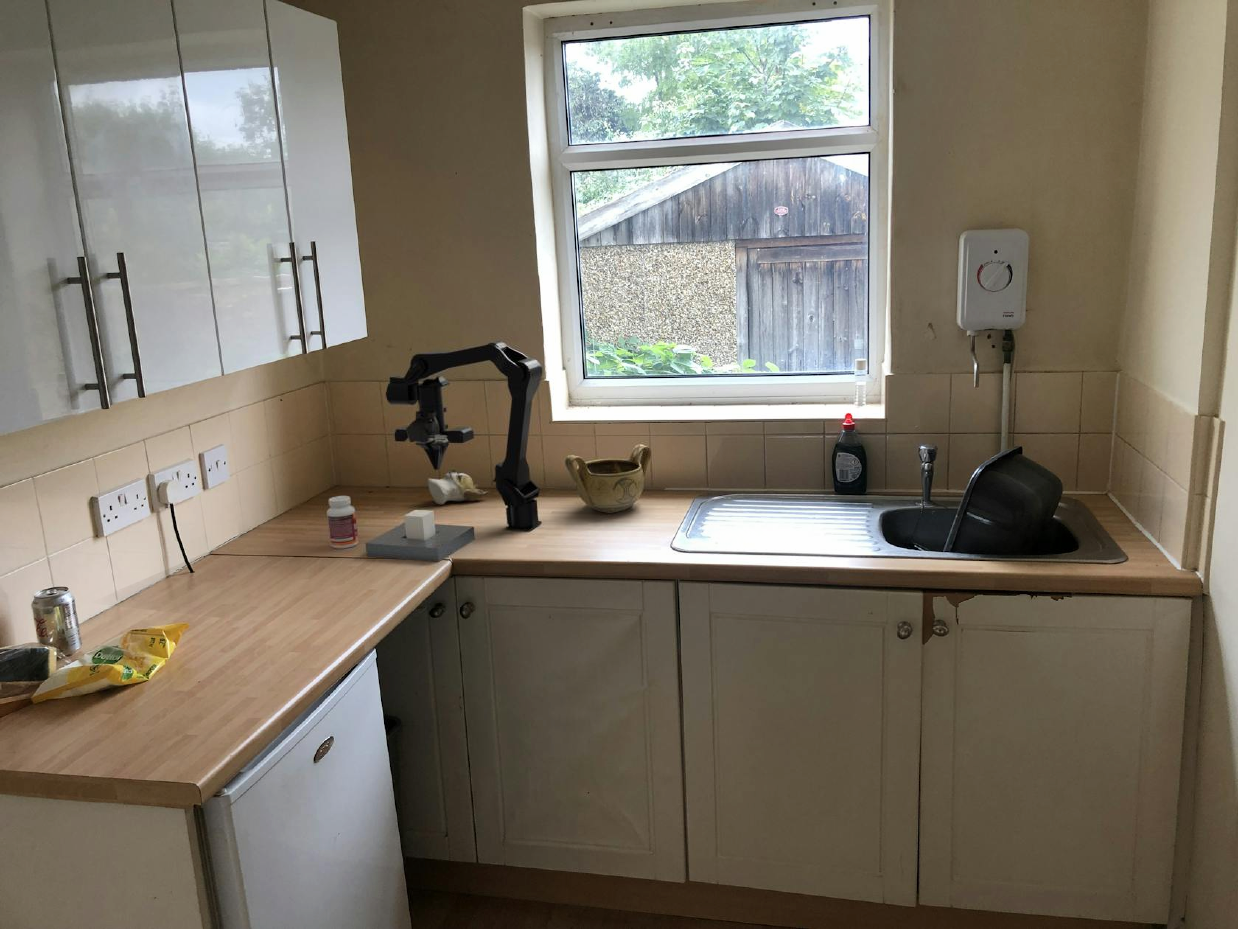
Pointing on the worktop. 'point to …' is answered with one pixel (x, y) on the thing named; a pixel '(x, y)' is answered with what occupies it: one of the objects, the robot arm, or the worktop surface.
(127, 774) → the worktop surface
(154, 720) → the worktop surface
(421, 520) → the white rectangular block
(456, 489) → the ceramic sculpture
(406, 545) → the jig plate
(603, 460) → the ceramic bowl
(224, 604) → the worktop surface
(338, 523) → the pill bottle
